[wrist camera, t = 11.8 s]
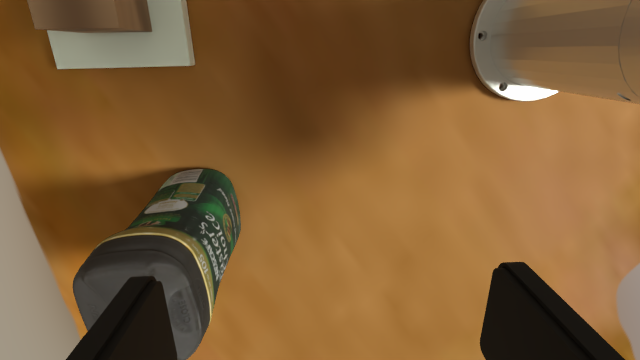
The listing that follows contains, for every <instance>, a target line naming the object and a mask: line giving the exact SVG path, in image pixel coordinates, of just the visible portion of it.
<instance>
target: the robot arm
mask: <svg viewBox="0 0 640 360" xmlns="http://www.w3.org/2000/svg"><path fill="white" fill-rule="evenodd" d="M479 34H480V38H479V39H478V35H479ZM470 55H471V60H472V65H473V67H474V70H475V72H476V74H477V76H478V78H479V79H480V80H481V82H482V83H483V85H485V86H486V87H487V88H488V89H489V90H490V91H491V92H493V93H495V94H497V95H498V96H500V97H503V98H507V99H510V100H516V101H535V100H540V99H544V98H546V97H549V96H551V95H554V94H556V93H558V92H559V91H560V92H567V93H573V94H579V95H585V96H592V97H598V98H604V99H610V100H617V101H623V102H629V103H635V104H640V0H483V1H482V3H481V5H480V7H479V9H478V11H477V13H476V16H475V19H474V22H473V25H472V29H471V35H470ZM499 85H500V88H499ZM480 347H481V351H482V353H483V355H484V357H485V359H486V360H625V359H624V358H623V357H622V356H621V355H620V354H619V353H618V352H617V351H616V350H615V349H613V348H612V347H611V346H610V345H609V344H608V343H607V342H606V341H605V340H604V339H603V338H602V337H601V336H600V335H599V334H598V333H597V332H596V331H595V330H594V329H593V328H592V327H591V326H590V325H589V324H588V323H587V322H586V321H585V320H584V319H582V318H581V317H580V316H579V315H578V314H577V313H576V312H575V311H574V310H573V309H572V308H571V307H570V306H569V305H568V304H567V303H566V302H565V301H564V300H563V299H562V298H561V297H560V296H559V295H558V294H557V293H556V292H555V291H554V290H553V289H552V288H550V287H549V286H548V285H547V284H546V283H545V282H544V281H543V280H542V279H541V278H540V277H539V276H538V275H537V274H536V273H535V272H534V271H533V270H532V269H531V268H530V267H529V266H528V265H527V264H525V263H524V262H507V263H501V264H500V265H499V267H498V268H495V269H494V271H493V274H492V280H491V285H490V290H489V296H488V301H487V306H486V311H485V317H484V322H483V327H482V333H481V338H480ZM66 360H177V351H176V346H175V341H174V337H173V332H172V327H171V322H170V317H169V313H168V308H167V303H166V298H165V294H164V289H163V285H162V282H161V281H156V279H155V277H154V276H136V277H130V278H129V279H128V280H127V281H126V283H125V284H124V285H123V287H122V288H121V289H120V290H119V292H118V293H117V294H116V296H115V297H114V298H113V300H112V301H111V302H110V303H109V305H108V306H107V307H106V309H105V310H104V311H103V313H102V314H101V315H100V317H99V318H98V319H97V320H96V322H95V323H94V324H93V326H92V327H91V328H90V330H89V331H88V332H87V333H86V335H85V336H84V337H83V338H82V339H81V341H80V342H79V343H78V345H77V346H76V347H75V349H74V350H73V351H72V352H71V354H70V355H69V356H68V358H67V359H66Z"/></svg>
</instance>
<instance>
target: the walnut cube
mask: <svg viewBox="0 0 640 360" xmlns="http://www.w3.org/2000/svg"><path fill="white" fill-rule="evenodd" d="M27 2H28V5H29V9H30V12H31V16H32V20H33V23H34V27H35V29H39V30H51V31H64V32H77V33H116V32H152V26H151V21H150V15H149V9H148V3H147V0H27Z"/></svg>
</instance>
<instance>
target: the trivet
mask: <svg viewBox="0 0 640 360" xmlns="http://www.w3.org/2000/svg"><path fill="white" fill-rule="evenodd" d="M147 3H148V9H149V15H150V21H151V26H152V32H116V33H77V32H64V31H51V30H47V33H48V36H49V40H50V44H51V47H52V51H53V55H54V58H55V62H56V66H57V69H83V68H122V67H161V66H192V65H195V59H194V52H193V45H192V38H191V31H190V23H189V16H188V9H187V2H186V0H147Z"/></svg>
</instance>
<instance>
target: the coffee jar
mask: <svg viewBox="0 0 640 360" xmlns="http://www.w3.org/2000/svg"><path fill="white" fill-rule="evenodd" d="M240 230H241V223H240V211H239V206H238V201H237V197H236V194H235V191H234V188H233V185H232V183H231V181H230V180H229V179H228V178H227V177H226V176H225V175H224V174H222V173H221V172H219V171H216V170H212V169H193V170H186V171H182V172H179V173H176V174H174V175H173V176H171V177H170V178H169V179H168V180H167V181H166V182H165V183H164V184H163V185H162V187H161V188H160V189H159V190H158V192H157V193H156V194H155V196H154V197H153V198H152V200H151V201H150V202H149V203H148V205H147V206H146V207H145V208H144V210H143V211H142V212H141V213H140V214H139V216H138V217H137V218H136V219H135V220H134V221H133V223H132V224H131V225H130V226H129V227H128V228H127V229H126V230H124V231H121V232H119V233H116V234H114V235H112V236H110V237H108V238H106V239H105V240H104V241H102V242H101V243H100V244H99V245H98V246H97V247H96V248H95V249H94V250H93V252H92V253H91V254H90V256H89V257H88V258H87V259H86V261H85V262H84V264H83V265H82V266H81V267H80V269H79V270H78V272H77V274H76V275H75V278H74V280H73V292H74V296H75V299H76V302H77V305H78V308H79V311H80V314H81V316H82V319H83V321H84V323H85V326H86V328H87V330H88V331H89V330H90V328H91V327H92V326H93V324H94V323H95V322H96V320H97V319H98V318H99V317H100V315H101V314H102V313H103V311H104V310H105V309H106V307H107V306H108V305H109V303H110V302H111V301H112V300H113V298H114V297H115V296H116V294H117V293H118V292H119V290H120V289H121V288H122V287H123V285H124V284H125V283H126V281H127V280H128V279H129V278H130V277H136V276H154V277H155V279H156V281H161V282H162V285H163V289H164V294H165V298H166V303H167V308H168V313H169V317H170V322H171V327H172V332H173V337H174V341H175V346H176V351H177V360H186V359H188V358H189V357H190V356H191V355H192V354H193V353H194V352H195V351H196V349H197V348H198V346H199V344H200V343H201V340H202V338H203V336H204V334H205V332H206V330H207V328H208V326H209V324H210V321H211V317H212V313H213V308H214V304H215V299H216V295H217V291H218V287H219V284H220V281H221V278H222V276H223V273H224V271H225V268H226V266H227V263H228V260H229V258H230V256H231V253H232V251H233V249H234V247H235V245H236V242H237V240H238V237H239V234H240Z"/></svg>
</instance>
